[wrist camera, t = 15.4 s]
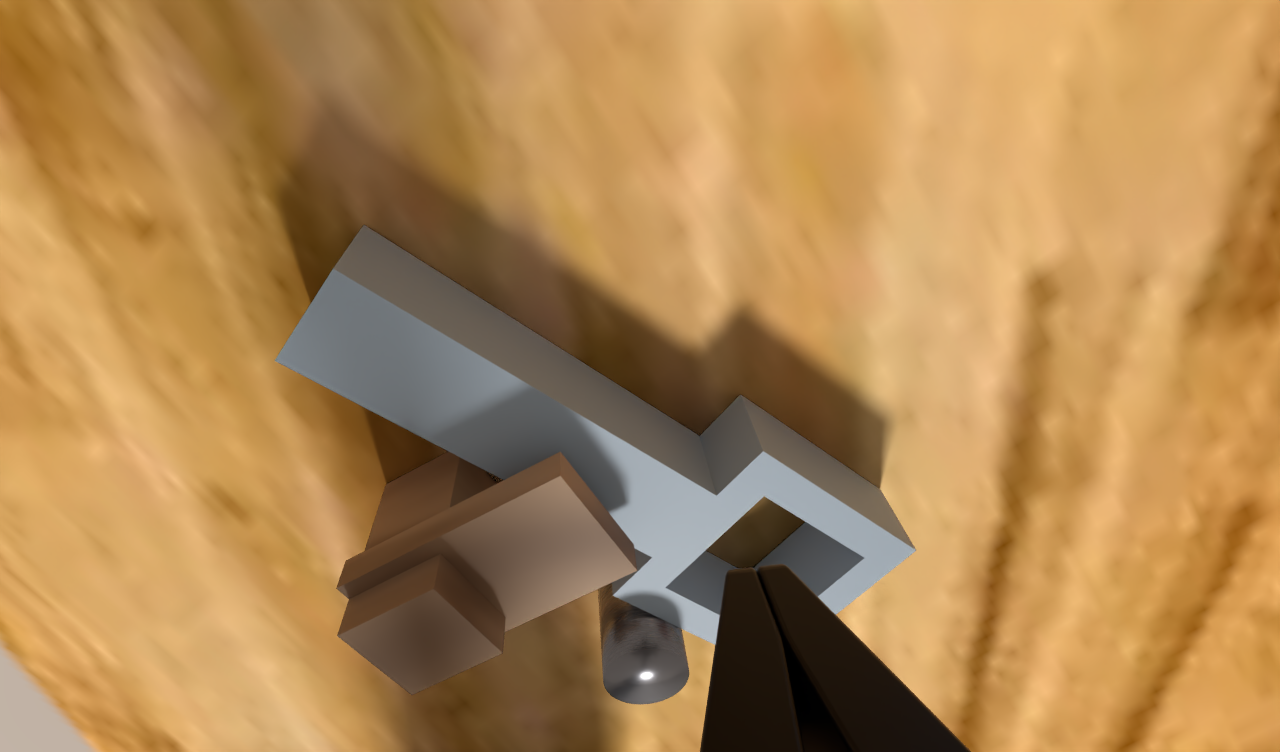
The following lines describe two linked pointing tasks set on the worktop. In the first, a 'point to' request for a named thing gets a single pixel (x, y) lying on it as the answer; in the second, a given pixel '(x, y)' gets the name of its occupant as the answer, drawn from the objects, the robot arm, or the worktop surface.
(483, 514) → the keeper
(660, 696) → the pintle
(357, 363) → the link
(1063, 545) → the worktop surface
